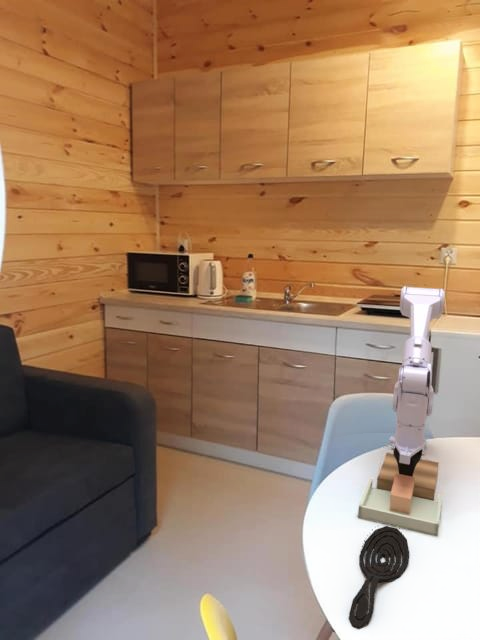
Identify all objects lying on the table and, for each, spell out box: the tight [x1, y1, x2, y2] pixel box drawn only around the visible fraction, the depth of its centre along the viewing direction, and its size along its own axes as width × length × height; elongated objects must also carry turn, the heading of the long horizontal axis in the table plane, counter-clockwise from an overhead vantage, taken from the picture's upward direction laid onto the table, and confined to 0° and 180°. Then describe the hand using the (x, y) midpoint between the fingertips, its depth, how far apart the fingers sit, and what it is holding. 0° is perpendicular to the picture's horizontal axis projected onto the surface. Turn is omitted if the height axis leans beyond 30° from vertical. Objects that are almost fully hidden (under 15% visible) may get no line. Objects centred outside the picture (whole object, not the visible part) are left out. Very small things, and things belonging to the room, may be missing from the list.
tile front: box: [390, 485, 413, 514], centre depth 112 cm, size 4×4×3 cm
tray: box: [357, 478, 443, 537], centre depth 112 cm, size 13×15×2 cm
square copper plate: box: [376, 452, 439, 501], centre depth 124 cm, size 14×12×3 cm
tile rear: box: [393, 473, 415, 498], centre depth 114 cm, size 4×4×3 cm
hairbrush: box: [348, 524, 410, 630], centre depth 91 cm, size 8×4×25 cm
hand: (405, 481), depth 117 cm, fingers closed
